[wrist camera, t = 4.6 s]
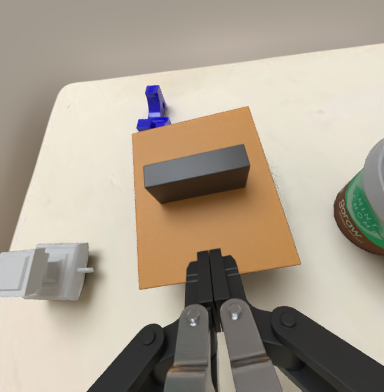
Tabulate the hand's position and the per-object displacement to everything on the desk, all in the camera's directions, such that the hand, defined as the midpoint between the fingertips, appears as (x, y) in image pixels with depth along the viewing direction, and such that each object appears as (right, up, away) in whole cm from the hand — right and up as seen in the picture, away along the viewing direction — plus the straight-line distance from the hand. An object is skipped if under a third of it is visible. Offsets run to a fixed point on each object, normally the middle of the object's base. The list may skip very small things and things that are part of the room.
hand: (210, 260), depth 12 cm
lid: (0, +5, +7) cm, 8 cm away
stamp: (-17, -6, +15) cm, 24 cm away
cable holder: (-6, +16, +21) cm, 27 cm away
